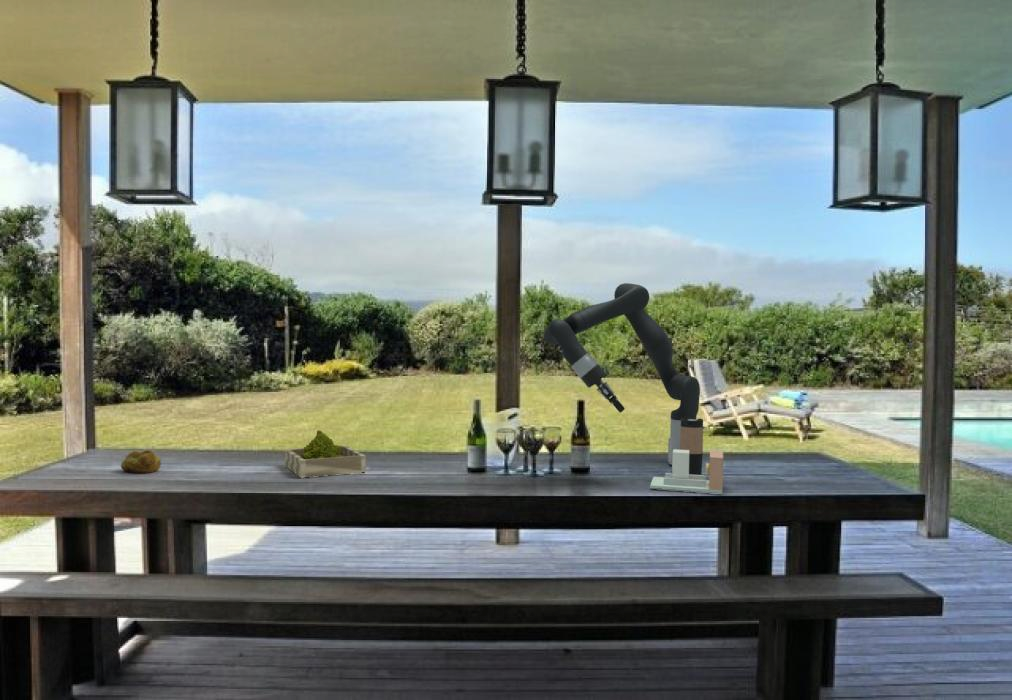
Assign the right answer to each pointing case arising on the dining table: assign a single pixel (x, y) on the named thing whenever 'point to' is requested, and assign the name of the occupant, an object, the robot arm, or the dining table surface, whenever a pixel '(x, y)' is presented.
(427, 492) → the dining table surface
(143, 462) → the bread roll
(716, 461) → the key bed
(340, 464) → the veg crate
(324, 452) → the vegetable
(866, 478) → the dining table surface
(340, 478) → the dining table surface
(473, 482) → the dining table surface
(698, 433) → the travel mug
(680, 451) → the white rectangular block
